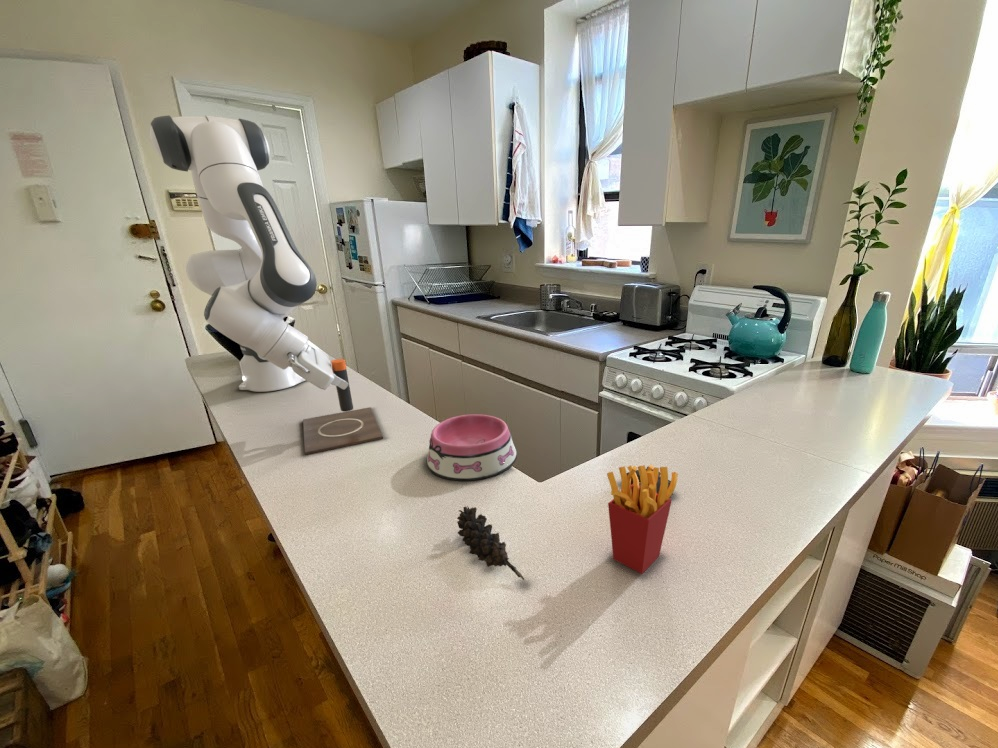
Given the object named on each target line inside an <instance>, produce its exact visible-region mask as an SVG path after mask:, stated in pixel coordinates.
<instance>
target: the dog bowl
mask: <svg viewBox="0 0 998 748" xmlns="http://www.w3.org/2000/svg"><path fill="white" fill-rule="evenodd" d="M428 444H429V445H428V452H427V458H426V466H427V468H428V470H429V471H430V472H431V473H432V474H434V475H435V476H437V477H440V478H442V479H445V480H450V481H459V482H460V481H461V482H467V481H469V482H471V481H479V480H484V479H488V478H492V477H495V476H497V475H499V474H501V473H503V472H504V473H505V471H507V470H509V469H510V468H511V467H512V466H513V465H514V464H515V462H516V460H517V459H518V452H517V449H516V447H515V444H514V441H513V437H512V433H511V432H510V429H509V427H508V424H507V423H506V422H505V421H504V420H503V419H501V418H500V417H497V416H494V415H489V414H481V413H480V414H477V413H476V414H462V415H456V416H453V417H450V418H447V419H445V420H443V421H441V422H439V423H438V424H436V426H434V427H433V429H432V430H431V434H430V437H429V443H428ZM503 462H505V463H506V464H505V463H503ZM507 464H508V465H507ZM510 466H511V467H510Z"/></svg>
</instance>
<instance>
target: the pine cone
mask: <svg viewBox="0 0 998 748" xmlns="http://www.w3.org/2000/svg"><path fill="white" fill-rule="evenodd" d="M462 509H463V511H462V510H461V509H458V512H460V513H459V515H458V516H457V517H456V519H457V521H456V523H457V527H458V529H459V530H458V531H457V534H458V535H459V536H460V537H462V542H463V544H464V545H465V546H467V547H469V549H470V550H469V554H470V555H475V556H477V559H478V561H481V562H485V564H486V567H487V568H489V567H492V566H494V567H502V566H504V567H508V568H509V569H510V570H511V571H512V572H513V573H514V574H515V576H517V578H521V579H522V580H523V581H525V577H524V575H522V573H521V572H520V571H519V570H518V569H517V567H516V566H514V564H512V563H511V562H510V561H509V559H510V557H508V555H509V554H508V552H507V551H506V547H507V544H506V541H503V542H501V540H500V533H499V532H497V533H492V530H493V524H487V525H486V523H487V520H488V518H487V517H486V516H485V515H484V514H482V513H480V514H478V515H477V510H478V509H477V507H474V506H472V507H471V508H470V507H469V505H467V506H463V508H462Z"/></svg>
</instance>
